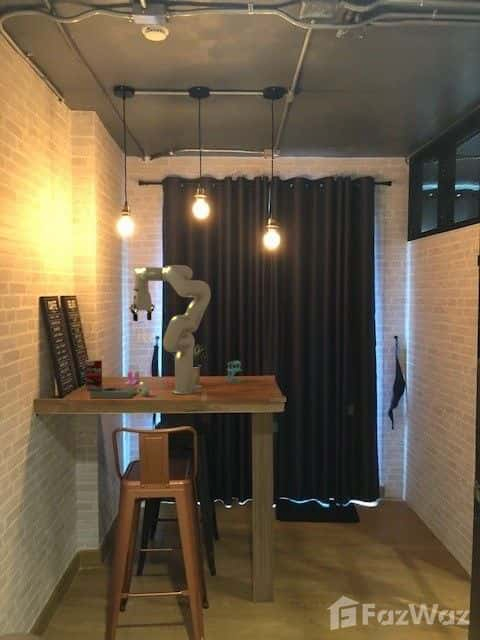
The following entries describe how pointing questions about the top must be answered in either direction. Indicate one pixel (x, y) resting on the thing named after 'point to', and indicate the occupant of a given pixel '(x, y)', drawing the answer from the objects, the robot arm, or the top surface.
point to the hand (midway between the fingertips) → (142, 320)
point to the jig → (113, 392)
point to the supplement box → (93, 374)
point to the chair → (233, 371)
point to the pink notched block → (130, 381)
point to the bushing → (144, 388)
